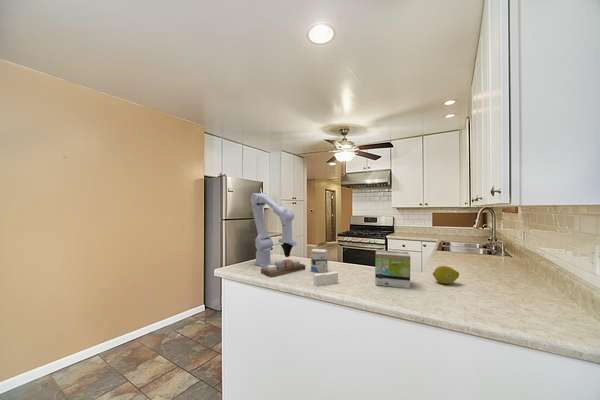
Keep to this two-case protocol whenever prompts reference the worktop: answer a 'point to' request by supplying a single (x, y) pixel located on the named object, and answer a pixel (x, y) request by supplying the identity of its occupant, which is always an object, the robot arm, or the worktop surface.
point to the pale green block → (295, 262)
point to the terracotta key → (287, 262)
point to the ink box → (319, 260)
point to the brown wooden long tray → (282, 270)
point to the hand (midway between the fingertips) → (287, 256)
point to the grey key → (280, 264)
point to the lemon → (445, 274)
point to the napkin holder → (325, 278)
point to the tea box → (392, 268)
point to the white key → (271, 267)
